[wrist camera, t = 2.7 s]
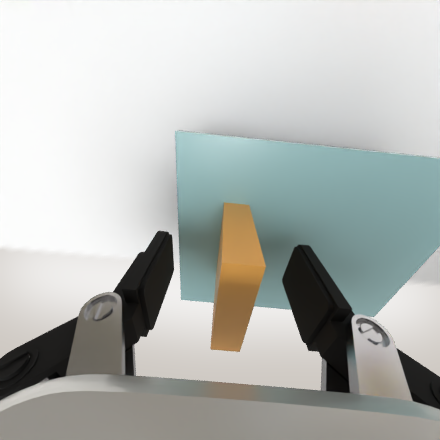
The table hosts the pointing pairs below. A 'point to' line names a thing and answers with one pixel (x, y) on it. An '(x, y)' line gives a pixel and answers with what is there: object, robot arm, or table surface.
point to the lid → (298, 222)
